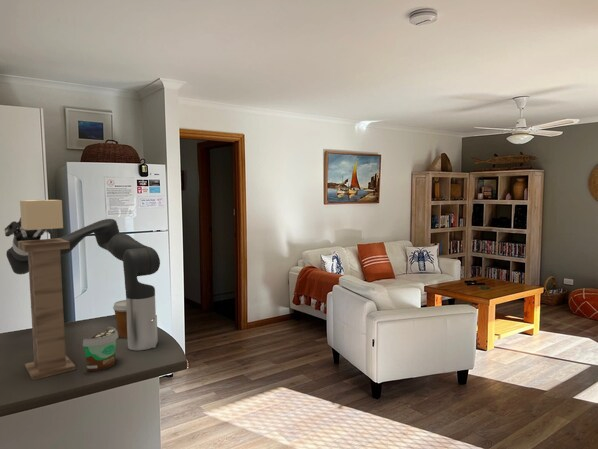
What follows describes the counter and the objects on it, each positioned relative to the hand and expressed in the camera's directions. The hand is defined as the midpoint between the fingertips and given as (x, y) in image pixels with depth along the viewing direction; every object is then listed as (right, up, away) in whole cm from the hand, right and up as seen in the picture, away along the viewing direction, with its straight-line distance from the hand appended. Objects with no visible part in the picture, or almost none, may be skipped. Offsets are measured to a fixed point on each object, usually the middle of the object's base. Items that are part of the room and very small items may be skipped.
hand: (33, 217), depth 138 cm
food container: (+25, -45, -4) cm, 51 cm away
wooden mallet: (+4, -3, -4) cm, 7 cm away
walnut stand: (+9, -45, -6) cm, 46 cm away
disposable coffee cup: (+21, -43, +23) cm, 53 cm away
